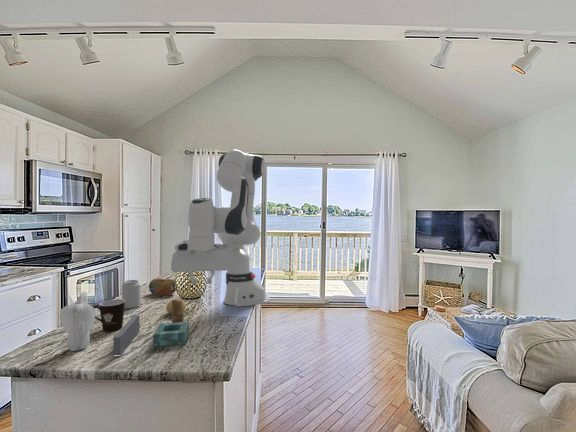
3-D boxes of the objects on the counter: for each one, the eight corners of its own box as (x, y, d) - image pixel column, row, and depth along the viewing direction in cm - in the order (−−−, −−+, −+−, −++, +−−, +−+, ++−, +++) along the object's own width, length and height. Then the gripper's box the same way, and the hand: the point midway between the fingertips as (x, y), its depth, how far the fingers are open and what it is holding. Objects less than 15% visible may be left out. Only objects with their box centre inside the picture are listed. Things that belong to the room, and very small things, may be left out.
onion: (164, 317, 130) (164, 300, 130) (168, 311, 138) (167, 295, 138) (184, 315, 132) (184, 299, 132) (186, 309, 139) (186, 294, 139)
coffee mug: (130, 325, 120) (130, 300, 120) (111, 334, 112) (111, 307, 112) (108, 322, 124) (107, 297, 124) (87, 330, 116) (87, 303, 116)
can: (143, 304, 147) (143, 279, 147) (134, 309, 139) (133, 283, 139) (128, 304, 148) (128, 278, 147) (118, 309, 140) (118, 282, 140)
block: (188, 332, 114) (188, 321, 113) (184, 344, 104) (184, 332, 104) (160, 334, 112) (160, 323, 112) (153, 346, 102) (153, 334, 102)
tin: (148, 294, 164) (148, 278, 164) (152, 292, 167) (152, 277, 167) (174, 296, 161) (173, 280, 161) (177, 294, 164) (177, 278, 164)
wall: (139, 330, 115) (139, 314, 115) (120, 356, 96) (120, 337, 95) (133, 331, 115) (133, 315, 115) (113, 356, 95) (113, 337, 95)
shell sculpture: (71, 357, 95) (70, 298, 95) (58, 350, 99) (57, 294, 99) (99, 346, 102) (98, 292, 102) (86, 341, 106) (85, 289, 106)
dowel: (183, 323, 123) (183, 298, 123) (182, 327, 119) (181, 301, 119) (173, 324, 122) (172, 298, 122) (171, 328, 118) (170, 301, 118)
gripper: (231, 242, 114) (232, 280, 114) (173, 243, 110) (173, 282, 110) (231, 244, 108) (232, 284, 108) (169, 246, 104) (170, 287, 104)
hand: (202, 283), depth 109 cm, fingers open, 4 cm apart
